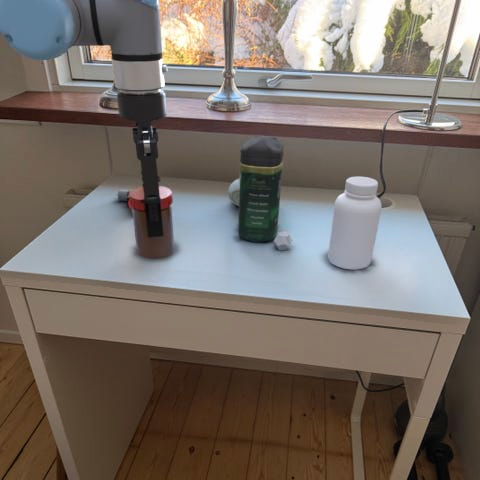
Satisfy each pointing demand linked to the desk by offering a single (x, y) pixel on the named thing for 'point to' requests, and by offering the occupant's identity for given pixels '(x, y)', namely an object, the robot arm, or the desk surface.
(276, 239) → the game die
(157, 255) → the jam jar
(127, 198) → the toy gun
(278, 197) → the coffee jar
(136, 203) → the lid
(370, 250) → the pill bottle
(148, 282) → the desk surface
